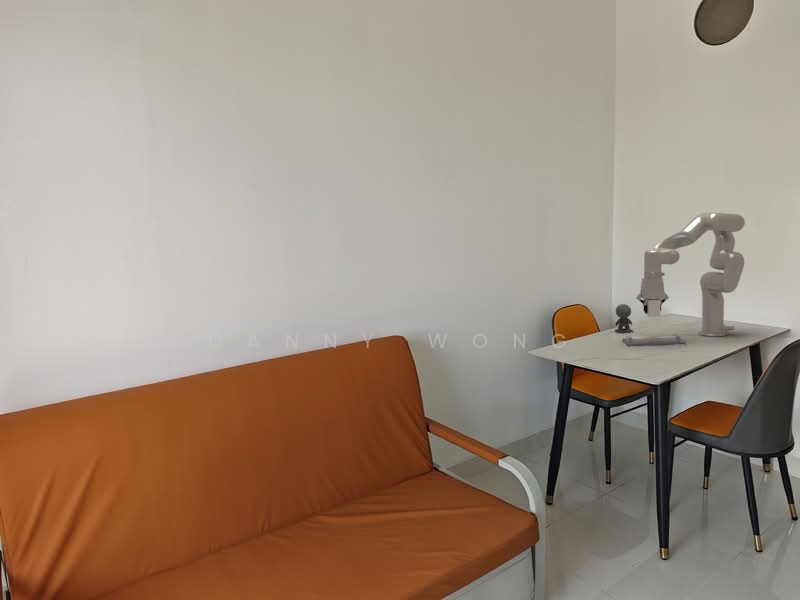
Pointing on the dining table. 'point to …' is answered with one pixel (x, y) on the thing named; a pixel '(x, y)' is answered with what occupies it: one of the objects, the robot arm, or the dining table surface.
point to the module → (653, 308)
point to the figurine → (623, 319)
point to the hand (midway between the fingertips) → (652, 312)
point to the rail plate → (653, 340)
